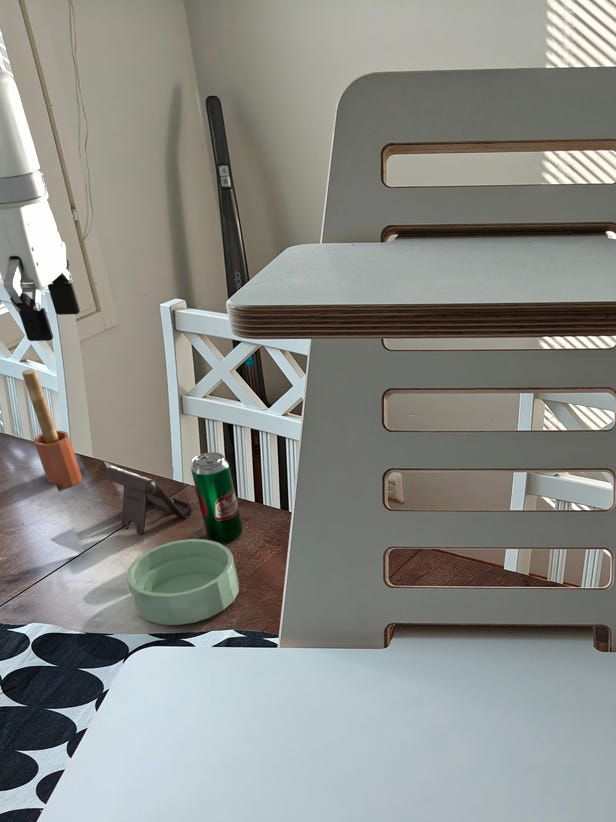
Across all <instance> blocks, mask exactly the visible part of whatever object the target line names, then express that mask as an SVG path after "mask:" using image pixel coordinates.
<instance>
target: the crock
mask: <svg viewBox="0 0 616 822" xmlns="http://www.w3.org/2000/svg"><path fill="white" fill-rule="evenodd" d="M56 432H57V435H58V438H59V441H58V442H55V443H51V444H46V443H45V440H44V437H43V434H42V433H41V434H39V435H37V436H35V438H34V439H33V443H34V446H35V449H36V452H37V455H38V457H39V460H40V464H41V465H42V468H43V469H42V470H43V472H44V474H45V478H46V480H47V482H49V483H50V484H51V483H52V484H55V486H56V489H57V490H63V489H68V488H72V487H74V486H77V485H78V484H80V483H81V482H82V480H83V475H82V473H81V469H80V466H79V463H78V460H77V456H76V453H75V450H74V447H73V444H72V441H71V438H70V435H69V433H68V432H67V431H64V430H56Z"/></svg>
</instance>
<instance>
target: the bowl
mask: <svg viewBox="0 0 616 822" xmlns="http://www.w3.org/2000/svg"><path fill="white" fill-rule="evenodd" d="M238 577H239V576H238V572H237V568H236V564H235V560H234V556H233V554H232V552H231V551H230V549H229V548H228V547H227V546H226V545H223V544H221V542H215V541H213V540H210V539H209V540H208V539H203V538H202V539H200V538H191V539H190V538H189V539H181V540H174V541H171V542H170V541H169V542H167V543H164V544H161V545H158V546H155V547H154V548H152V549H149V550H147V551H145V552H144V553H143V554H141V555H140V556H138V557H137V558H136V559H134V561H133V562H132V563H131V564H130V566H129V567H128V569H127V574H126V581H127V583H128V584H127V585H128V588H129V591H130V595H131V597H132V600H133V603H134V606H135V607H134V608H135V609H136V611H137V613H138V615H139V616H141V617H142V618H144V619H145V620H147V621H149V622H152V623H156V624H159V625H167V626H169V625H170V626H179V625H181V626H182V625H186V624H193V623H198V622H201V621H203V620H207V619H210V618H212V617H214V616H215V615H217V614H219V613H221V612H223V611H225V610H226V608H228V607H229V606H231V604H232V603H233V602H234V601H235V600H236V598H237V596H238V594H239V592H240V582H239V578H238Z"/></svg>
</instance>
